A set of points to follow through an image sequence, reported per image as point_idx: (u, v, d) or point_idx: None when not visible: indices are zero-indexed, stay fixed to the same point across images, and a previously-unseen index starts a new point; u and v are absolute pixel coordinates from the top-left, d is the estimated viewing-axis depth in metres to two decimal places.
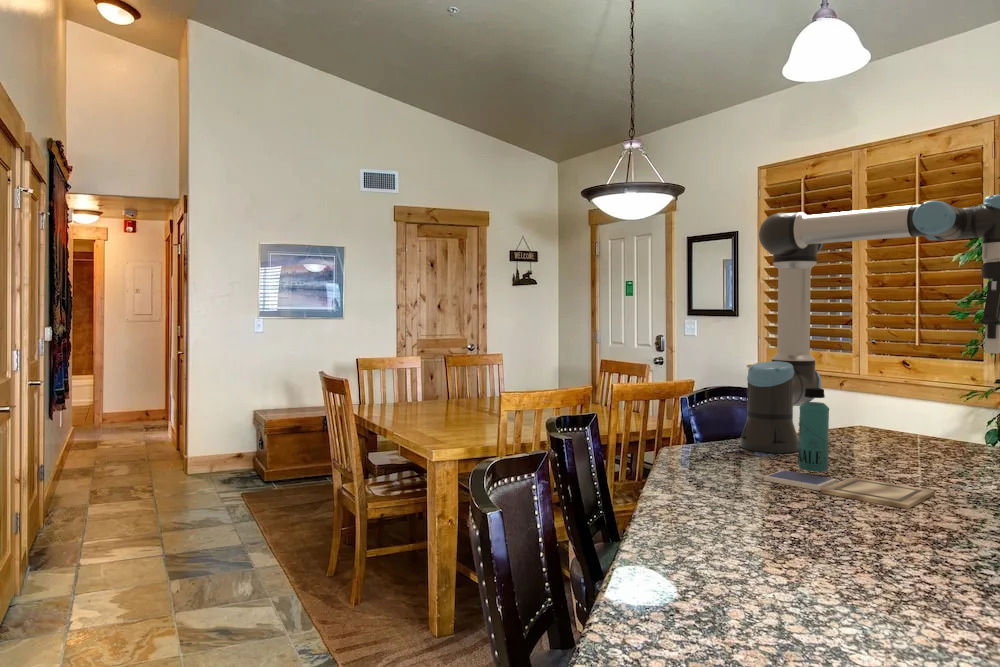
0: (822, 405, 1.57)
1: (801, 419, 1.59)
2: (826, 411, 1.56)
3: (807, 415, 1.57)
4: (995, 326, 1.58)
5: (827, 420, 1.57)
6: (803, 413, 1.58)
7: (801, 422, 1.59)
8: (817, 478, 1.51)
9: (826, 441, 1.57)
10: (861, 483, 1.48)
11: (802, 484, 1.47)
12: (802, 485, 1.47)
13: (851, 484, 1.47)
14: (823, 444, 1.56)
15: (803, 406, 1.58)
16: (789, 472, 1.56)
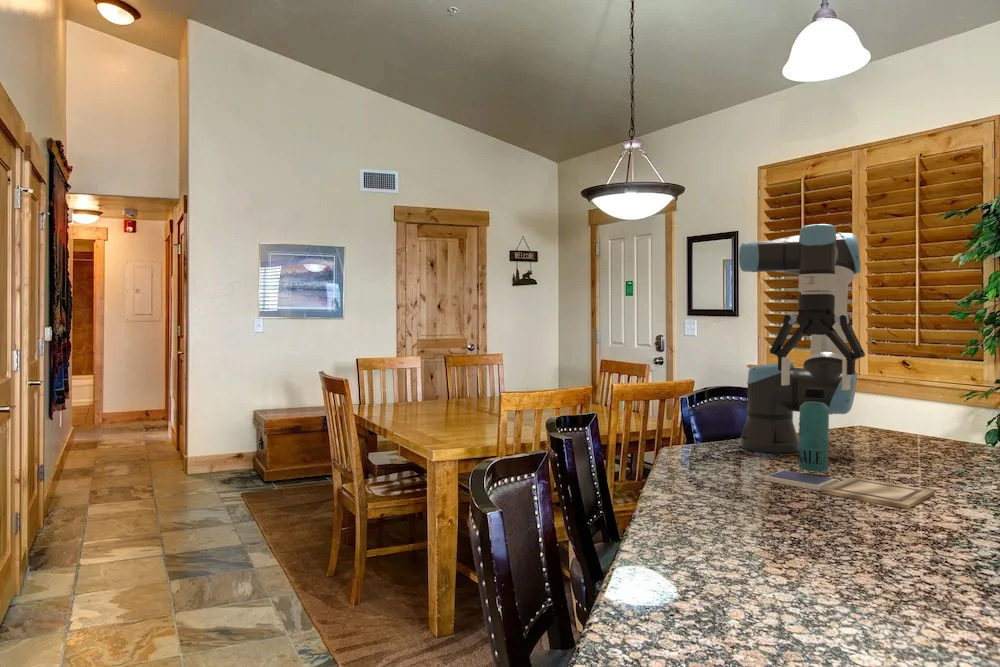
0: (822, 405, 1.57)
1: (801, 419, 1.59)
2: (826, 411, 1.56)
3: (807, 415, 1.57)
4: (780, 358, 1.64)
5: (827, 420, 1.57)
6: (803, 413, 1.58)
7: (801, 422, 1.59)
8: (817, 478, 1.51)
9: (826, 441, 1.57)
10: (861, 483, 1.48)
11: (802, 484, 1.47)
12: (802, 485, 1.47)
13: (851, 484, 1.47)
14: (823, 444, 1.56)
15: (803, 406, 1.58)
16: (789, 472, 1.56)
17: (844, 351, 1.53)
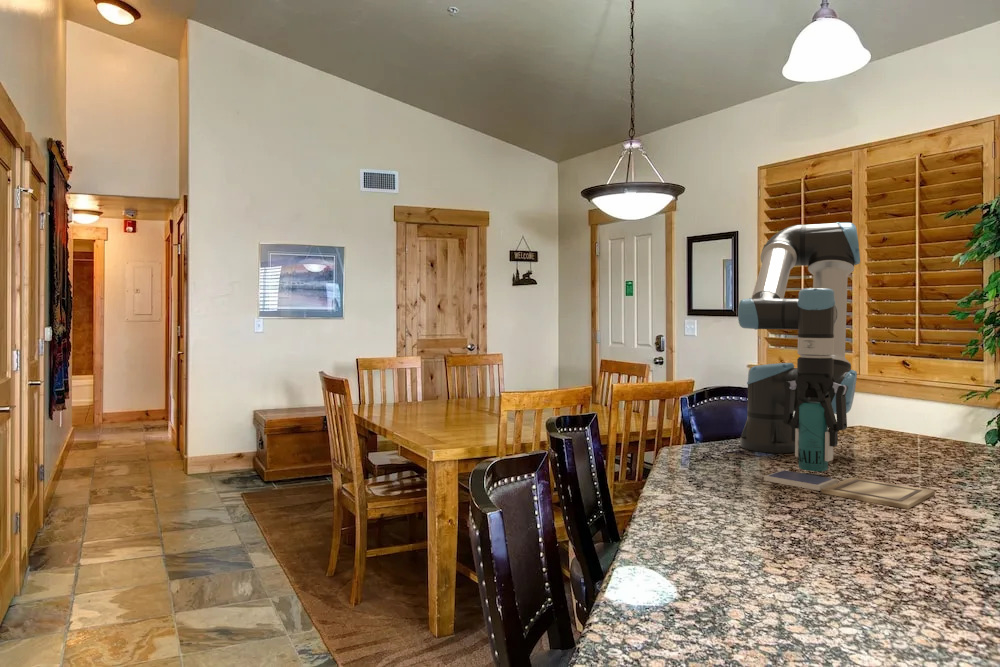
0: (821, 405, 1.57)
1: (800, 419, 1.59)
2: None
3: (806, 415, 1.57)
4: (793, 429, 1.62)
5: None
6: (802, 413, 1.58)
7: (800, 422, 1.59)
8: (817, 478, 1.51)
9: None
10: (861, 483, 1.48)
11: (802, 484, 1.47)
12: (802, 485, 1.47)
13: (851, 484, 1.47)
14: (822, 444, 1.56)
15: (802, 406, 1.58)
16: (789, 472, 1.56)
17: (830, 422, 1.55)
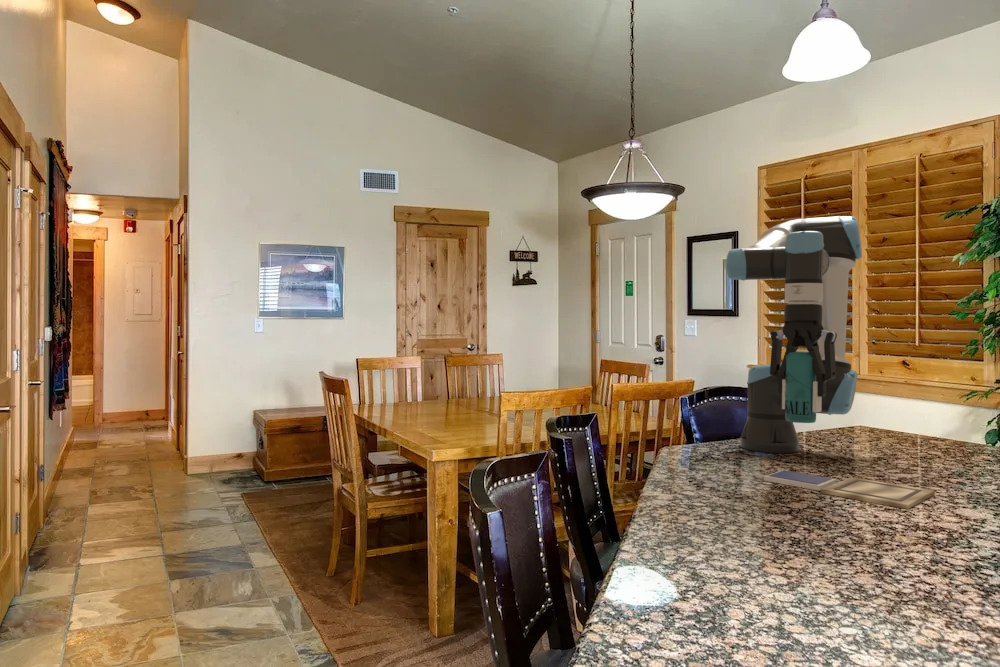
0: None
1: (787, 369, 1.52)
2: None
3: (794, 364, 1.50)
4: (780, 380, 1.54)
5: None
6: (789, 362, 1.51)
7: (787, 372, 1.51)
8: (817, 478, 1.51)
9: None
10: (861, 483, 1.48)
11: (802, 484, 1.47)
12: (802, 485, 1.47)
13: (851, 484, 1.47)
14: (810, 394, 1.49)
15: (789, 355, 1.51)
16: (789, 472, 1.56)
17: (818, 371, 1.48)
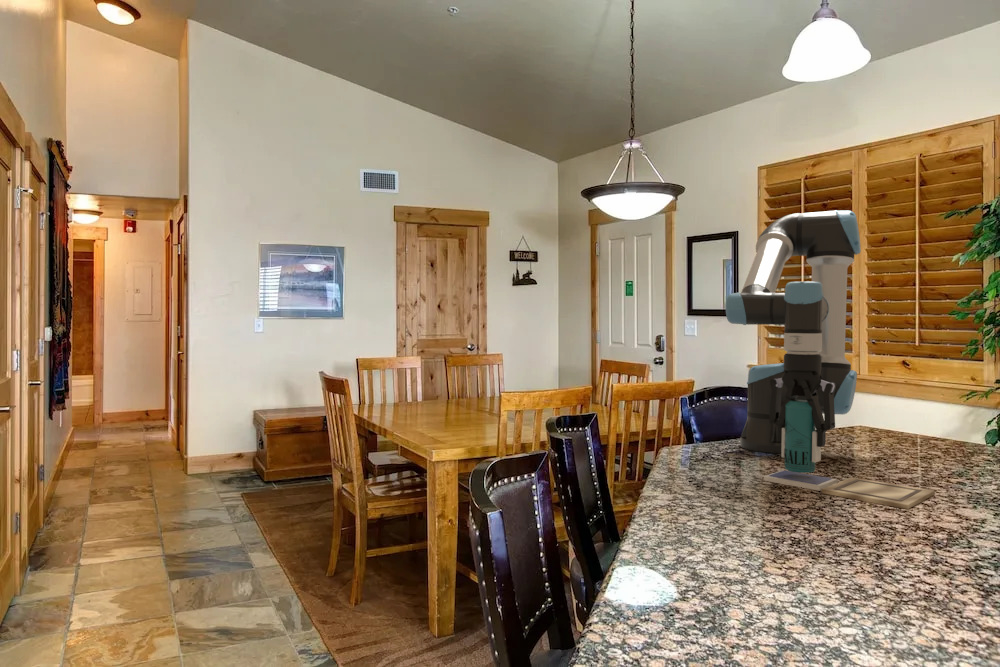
0: None
1: (787, 418, 1.52)
2: None
3: (793, 414, 1.50)
4: (780, 429, 1.55)
5: None
6: (789, 412, 1.51)
7: (787, 421, 1.52)
8: (817, 478, 1.51)
9: None
10: (861, 483, 1.48)
11: (802, 484, 1.47)
12: (802, 485, 1.47)
13: (851, 484, 1.47)
14: (809, 444, 1.49)
15: (789, 404, 1.51)
16: (789, 472, 1.56)
17: (817, 421, 1.48)
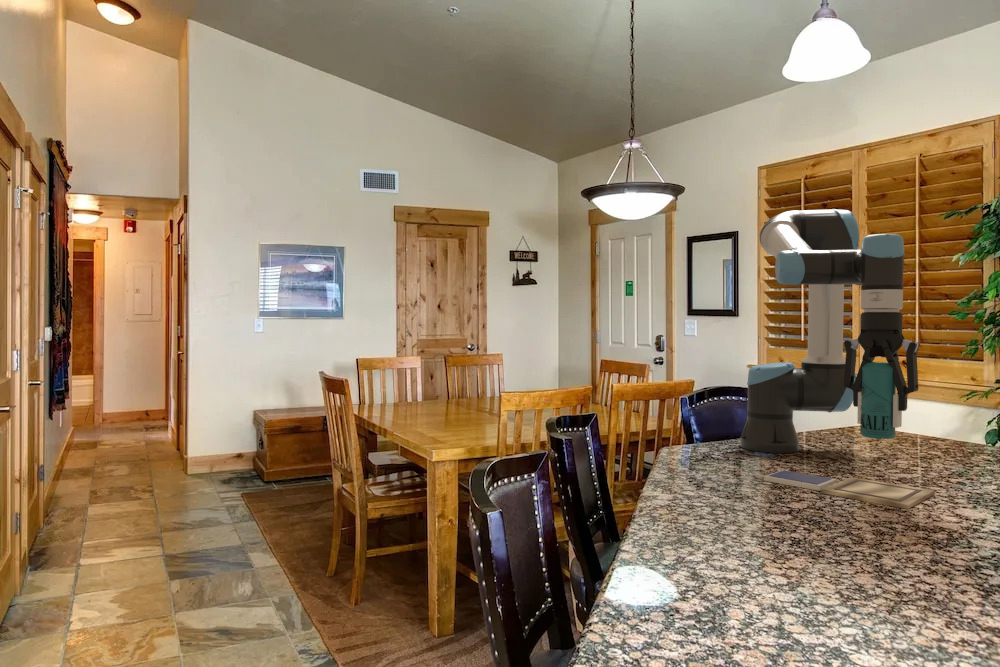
0: None
1: (864, 381, 1.42)
2: None
3: (872, 376, 1.40)
4: (856, 393, 1.45)
5: None
6: (867, 374, 1.41)
7: (864, 384, 1.42)
8: (817, 478, 1.51)
9: None
10: (861, 483, 1.48)
11: (802, 484, 1.47)
12: (802, 485, 1.47)
13: (851, 484, 1.47)
14: (890, 408, 1.39)
15: (867, 366, 1.41)
16: (789, 472, 1.56)
17: (899, 383, 1.38)
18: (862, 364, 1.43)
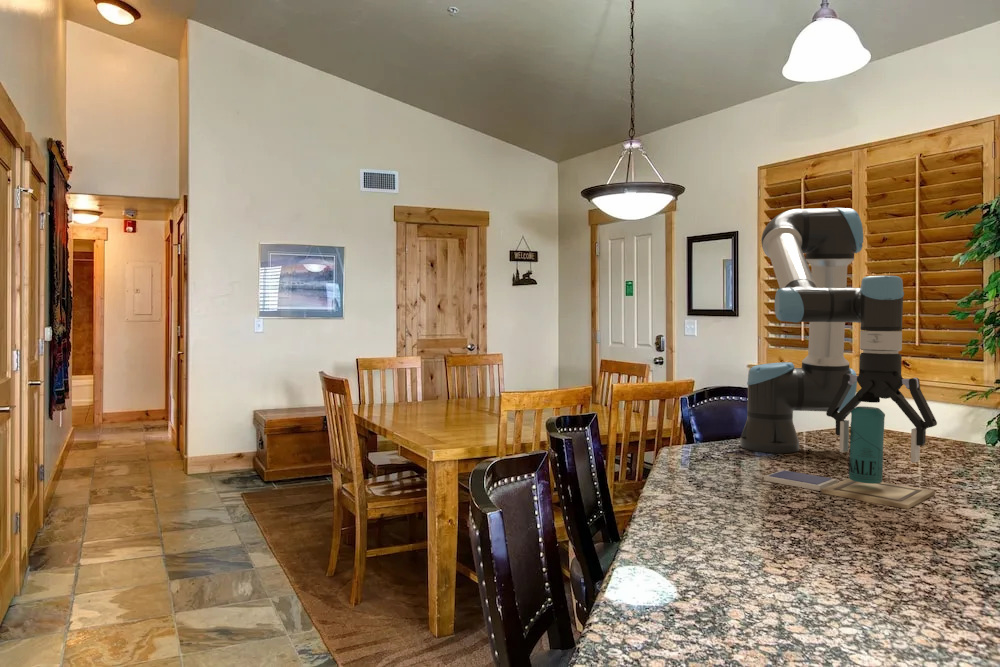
0: (877, 410, 1.42)
1: (853, 425, 1.44)
2: (882, 417, 1.42)
3: (860, 421, 1.42)
4: (838, 422, 1.48)
5: (883, 427, 1.42)
6: (856, 419, 1.43)
7: (853, 429, 1.44)
8: (817, 478, 1.51)
9: (881, 450, 1.42)
10: (861, 483, 1.48)
11: (802, 484, 1.47)
12: (802, 485, 1.47)
13: (851, 484, 1.47)
14: (877, 454, 1.41)
15: (856, 411, 1.44)
16: (789, 472, 1.56)
17: (914, 419, 1.37)
18: (853, 399, 1.45)
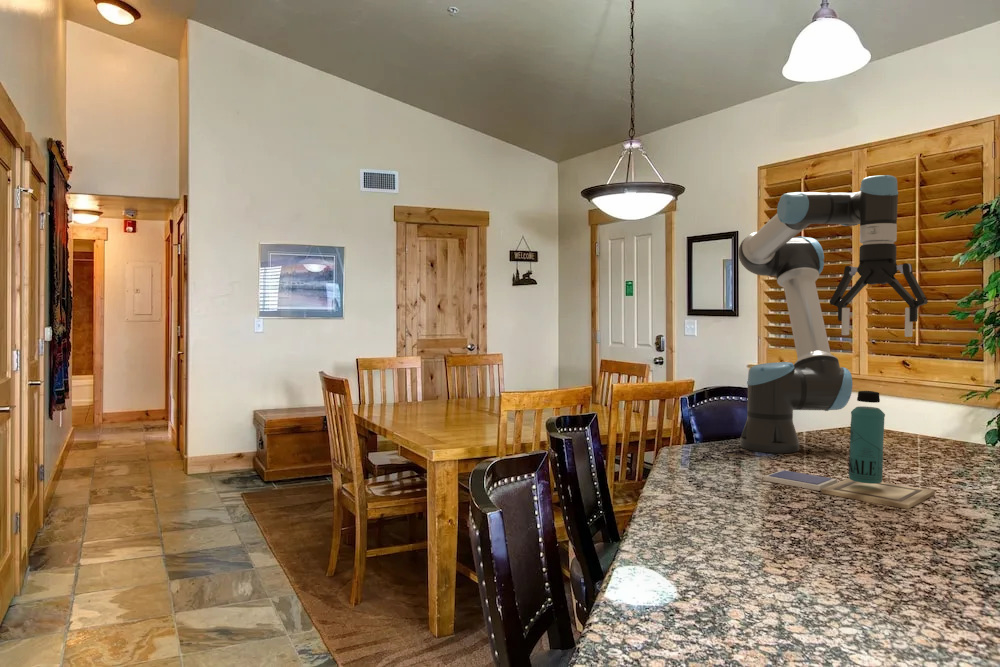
0: (877, 410, 1.42)
1: (853, 425, 1.44)
2: (882, 417, 1.42)
3: (860, 421, 1.42)
4: (840, 309, 1.67)
5: (882, 427, 1.42)
6: (856, 419, 1.43)
7: (853, 429, 1.44)
8: (817, 478, 1.51)
9: (881, 450, 1.42)
10: (861, 483, 1.48)
11: (802, 484, 1.47)
12: (802, 485, 1.47)
13: (851, 484, 1.47)
14: (877, 454, 1.41)
15: (856, 411, 1.44)
16: (789, 472, 1.56)
17: (907, 298, 1.56)
18: (854, 287, 1.64)
